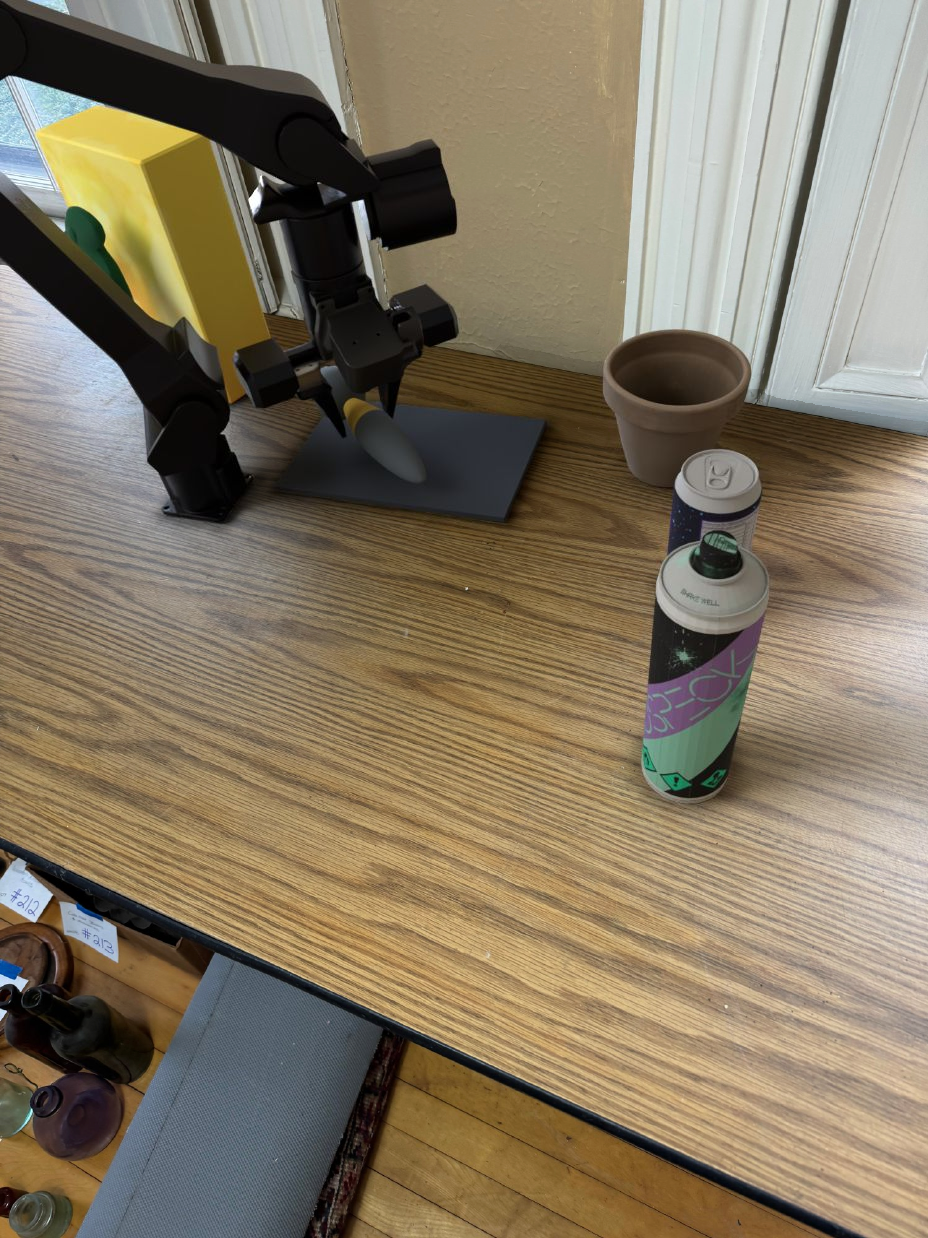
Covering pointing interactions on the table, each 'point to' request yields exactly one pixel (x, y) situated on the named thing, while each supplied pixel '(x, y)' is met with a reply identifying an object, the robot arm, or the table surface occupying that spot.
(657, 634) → the spray can
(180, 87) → the robot arm
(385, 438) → the paintbrush
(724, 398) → the flower pot
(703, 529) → the beverage can
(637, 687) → the table surface
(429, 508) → the mat
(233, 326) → the mottled yellow carton
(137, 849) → the table surface
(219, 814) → the table surface
